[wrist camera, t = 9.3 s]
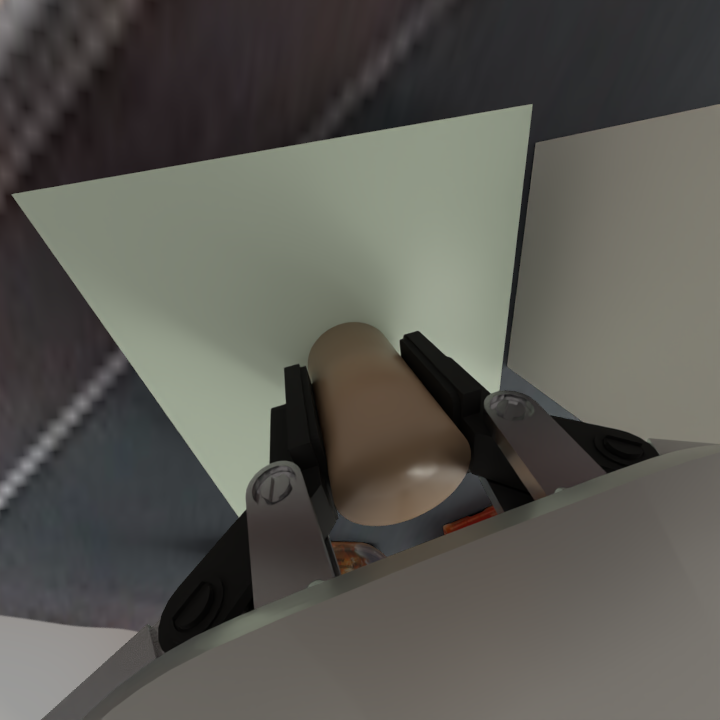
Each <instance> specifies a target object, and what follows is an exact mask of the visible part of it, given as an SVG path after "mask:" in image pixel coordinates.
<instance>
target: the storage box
mask: <svg viewBox="0 0 720 720" xmlns="http://www.w3.org/2000/svg"><path fill="white" fill-rule="evenodd" d="M507 367H508V368H510V369H511V370H512V371H514V372H515V373H516V374H518V375H519V376H521V377H522V378H523V379H525V380H526V381H527V382H529V383H530V384H532V385H533V386H534V387H536V388H537V389H538V390H540V391H541V392H543V393H544V394H545V395H547V396H548V397H549V398H551V399H552V400H554V401H555V402H556V403H558V404H559V405H561V406H562V407H563V408H565V409H566V410H567V411H569V412H570V413H572V414H573V415H574V416H576V417H577V418H578V419H580V420H581V421H583V422H585V423H589V424H594V425H599V426H604V427H609V428H614V429H618V430H622V431H625V432H629V433H631V434H633V435H636V436H638V437H640V438H641V439H643V440H645V441H646V442H647V440H648V438H653V439H665V440H677V441H689V442H701V443H713V444H720V104H718V105H713V106H708V107H703V108H699V109H694V110H689V111H684V112H680V113H675V114H670V115H665V116H661V117H656V118H651V119H646V120H642V121H637V122H632V123H627V124H623V125H618V126H613V127H608V128H604V129H599V130H594V131H589V132H585V133H580V134H575V135H570V136H566V137H561V138H556V139H551V140H547V141H542V142H537V143H536V145H535V152H534V160H533V168H532V176H531V183H530V191H529V199H528V207H527V214H526V222H525V230H524V238H523V245H522V253H521V261H520V269H519V276H518V284H517V292H516V300H515V308H514V315H513V323H512V331H511V339H510V346H509V354H508V362H507Z"/></svg>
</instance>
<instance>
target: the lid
mask: <svg viewBox="0 0 720 720" xmlns="http://www.w3.org/2000/svg"><path fill="white" fill-rule="evenodd" d="M532 105H533V104H529V105H523V106H518V107H512V108H506V109H500V110H495V111H489V112H483V113H477V114H472V115H466V116H460V117H454V118H448V119H443V120H437V121H431V122H425V123H420V124H414V125H408V126H402V127H397V128H391V129H385V130H379V131H373V132H368V133H362V134H356V135H350V136H345V137H339V138H333V139H327V140H322V141H316V142H310V143H304V144H299V145H293V146H287V147H281V148H275V149H270V150H264V151H258V152H252V153H247V154H241V155H235V156H229V157H224V158H218V159H212V160H206V161H201V162H195V163H189V164H183V165H177V166H172V167H166V168H160V169H154V170H149V171H143V172H137V173H131V174H126V175H120V176H114V177H108V178H103V179H97V180H91V181H85V182H79V183H74V184H68V185H62V186H56V187H51V188H45V189H39V190H33V191H28V192H22V193H16V194H11V195H12V196H13V197H14V199H15V200H16V202H17V203H18V205H19V206H20V207H21V209H22V210H23V212H24V213H25V214H26V216H27V217H28V219H29V220H30V222H31V223H32V224H33V226H34V227H35V229H36V230H37V231H38V233H39V234H40V236H41V237H42V239H43V240H44V241H45V243H46V244H47V246H48V247H49V249H50V250H51V251H52V253H53V254H54V256H55V257H56V258H57V260H58V261H59V263H60V264H61V266H62V267H63V268H64V270H65V271H66V273H67V274H68V275H69V277H70V278H71V280H72V281H73V283H74V284H75V285H76V287H77V288H78V290H79V291H80V293H81V294H82V295H83V297H84V298H85V300H86V301H87V302H88V304H89V305H90V307H91V308H92V310H93V311H94V312H95V314H96V315H97V317H98V318H99V319H100V321H101V322H102V324H103V325H104V327H105V328H106V329H107V331H108V332H109V334H110V335H111V336H112V338H113V339H114V341H115V342H116V344H117V345H118V346H119V348H120V349H121V351H122V352H123V354H124V355H125V356H126V358H127V359H128V361H129V362H130V363H131V365H132V366H133V368H134V369H135V371H136V372H137V373H138V375H139V376H140V378H141V379H142V380H143V382H144V383H145V385H146V386H147V388H148V389H149V390H150V392H151V393H152V395H153V396H154V398H155V399H156V400H157V402H158V403H159V405H160V406H161V407H162V409H163V410H164V412H165V413H166V415H167V416H168V417H169V419H170V420H171V422H172V423H173V424H174V426H175V427H176V429H177V430H178V432H179V433H180V434H181V436H182V437H183V439H184V440H185V442H186V443H187V444H188V446H189V447H190V449H191V450H192V451H193V453H194V454H195V456H196V457H197V459H198V460H199V461H200V463H201V464H202V466H203V467H204V468H205V470H206V471H207V473H208V474H209V476H210V477H211V478H212V480H213V481H214V483H215V484H216V486H217V487H218V488H219V490H220V491H221V493H222V494H223V495H224V497H225V498H226V500H227V501H228V503H229V504H230V505H231V507H232V508H233V510H234V511H235V512H236V514H237V515H238V517H240V516H241V515H242V514H243V512H244V511H245V510H246V498H245V497H246V489H247V487H248V484H249V482H250V481H251V479H252V478H253V477H254V475H255V474H256V473H257V472H258V471H260V470H261V469H262V468H263V467H265V466H267V465H269V461H270V415H271V408H273V407H277V406H280V405H284V404H286V398H285V378H284V368H285V367H288V366H292V365H295V364H299V365H300V367H303V366H306V368H307V371H308V374H309V377H310V380H311V383H312V388H313V393H314V398H315V403H316V408H317V413H318V419H319V424H320V429H321V434H322V439H323V444H324V449H325V454H326V459H327V464H328V475H329V480H330V486H331V491H332V496H333V501H334V504H335V506H336V508H337V510H338V511H339V512H340V514H341V515H342V516H344V517H345V518H346V519H348V520H350V521H352V522H355V523H357V524H362V525H368V526H384V525H391V524H396V523H400V522H404V521H407V520H410V519H412V518H415V517H417V516H420V515H422V514H424V513H426V512H427V511H429V510H431V509H433V508H434V507H435V506H437V505H438V504H440V503H441V502H442V501H444V500H445V499H446V498H447V497H448V496H449V495H450V494H452V493H453V491H454V490H455V489H456V488H457V487H458V486H459V484H460V483H461V482H462V480H463V478H464V477H465V475H466V473H467V471H468V468H469V465H470V460H471V450H470V445H469V443H468V441H467V439H466V438H465V437H464V435H463V434H462V433H461V431H460V430H459V429H458V428H457V426H456V425H455V424H454V423H453V421H452V420H451V419H450V418H449V416H448V415H447V414H446V413H445V411H444V410H443V409H442V408H441V406H440V405H439V404H438V403H437V401H436V400H435V399H434V397H433V396H432V395H431V394H430V392H429V391H428V390H427V389H426V387H425V386H424V385H423V384H422V382H421V381H420V380H419V379H418V377H417V376H416V375H415V374H414V372H413V371H412V370H411V368H410V367H409V366H408V365H407V363H406V362H405V361H404V360H403V358H402V357H401V353H400V339H403V336H404V334H408V333H411V332H415V331H420V332H421V333H422V334H423V335H424V336H425V337H426V338H427V339H428V340H429V341H430V342H432V343H433V344H434V345H435V346H436V347H437V348H438V349H439V350H440V351H441V352H442V353H443V354H445V355H446V356H447V357H451V358H452V359H453V360H454V361H456V362H457V363H458V364H459V365H460V366H461V367H462V368H463V369H464V370H465V371H467V372H468V373H469V374H470V375H471V376H472V377H473V378H474V379H475V380H477V381H478V382H479V383H480V384H481V385H482V386H483V387H484V388H485V389H486V390H488V391H489V392H490V393H494V392H497V391H499V388H500V380H501V371H502V363H503V354H504V346H505V337H506V328H507V320H508V311H509V303H510V294H511V285H512V277H513V268H514V260H515V251H516V243H517V234H518V225H519V217H520V208H521V200H522V191H523V182H524V174H525V165H526V157H527V148H528V140H529V131H530V122H531V114H532Z"/></svg>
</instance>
